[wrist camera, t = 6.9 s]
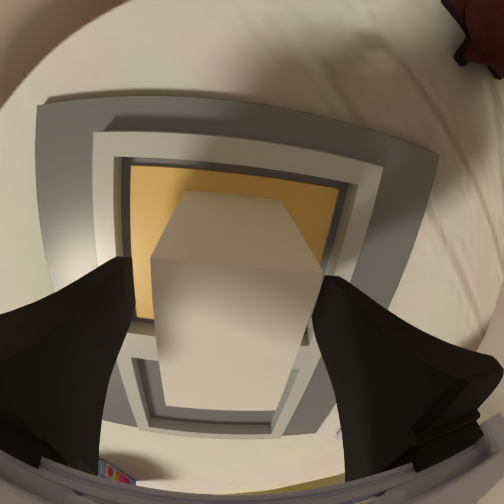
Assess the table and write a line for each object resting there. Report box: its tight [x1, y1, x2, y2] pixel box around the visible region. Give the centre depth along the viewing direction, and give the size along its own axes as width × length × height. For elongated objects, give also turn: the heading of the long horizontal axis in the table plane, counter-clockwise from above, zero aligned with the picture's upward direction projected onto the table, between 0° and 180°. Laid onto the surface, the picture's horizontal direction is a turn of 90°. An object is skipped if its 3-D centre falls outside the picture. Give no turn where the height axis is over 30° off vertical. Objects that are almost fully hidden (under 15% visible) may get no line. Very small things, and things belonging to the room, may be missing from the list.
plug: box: [150, 190, 323, 411], centre depth 10 cm, size 4×7×6 cm, turn 172°
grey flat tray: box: [35, 96, 439, 439], centre depth 15 cm, size 20×25×2 cm
